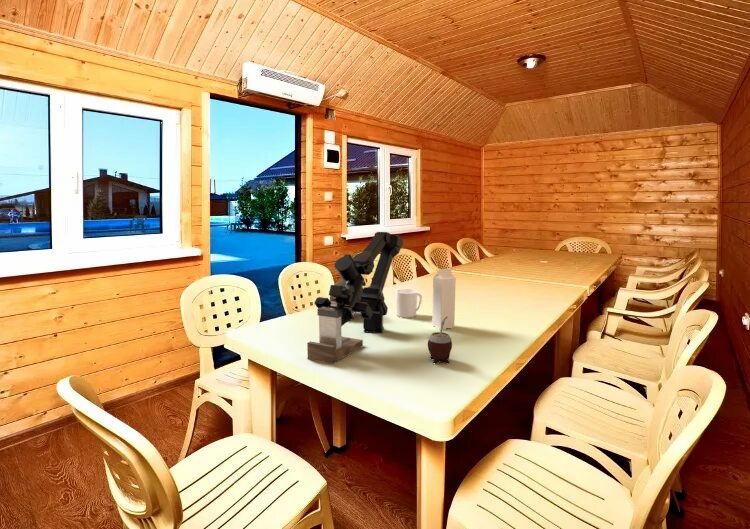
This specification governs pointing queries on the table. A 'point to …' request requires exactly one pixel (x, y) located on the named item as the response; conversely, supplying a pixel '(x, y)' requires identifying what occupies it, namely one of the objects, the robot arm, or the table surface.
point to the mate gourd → (440, 345)
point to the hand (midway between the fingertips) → (333, 331)
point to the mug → (407, 303)
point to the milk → (443, 298)
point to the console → (332, 350)
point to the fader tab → (330, 326)
